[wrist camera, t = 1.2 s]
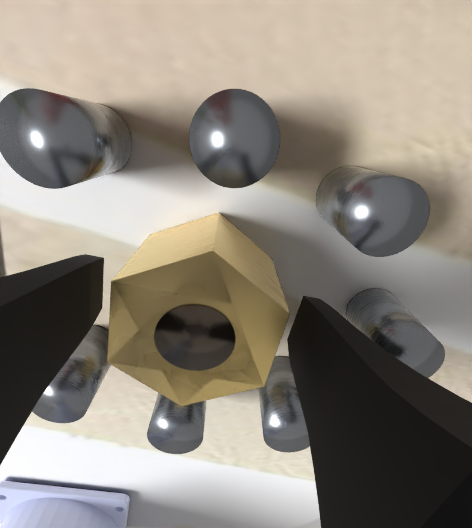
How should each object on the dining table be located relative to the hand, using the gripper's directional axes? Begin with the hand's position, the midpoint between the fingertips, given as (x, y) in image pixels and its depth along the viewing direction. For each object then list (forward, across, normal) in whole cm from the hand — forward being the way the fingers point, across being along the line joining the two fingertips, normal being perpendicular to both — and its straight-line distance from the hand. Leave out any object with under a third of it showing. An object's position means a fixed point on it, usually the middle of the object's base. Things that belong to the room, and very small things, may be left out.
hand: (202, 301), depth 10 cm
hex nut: (+2, 0, 0) cm, 2 cm away
